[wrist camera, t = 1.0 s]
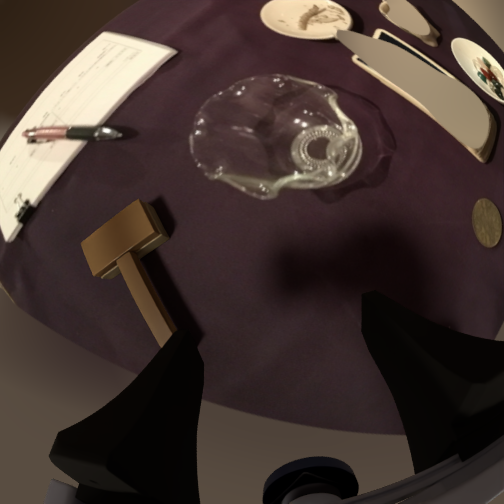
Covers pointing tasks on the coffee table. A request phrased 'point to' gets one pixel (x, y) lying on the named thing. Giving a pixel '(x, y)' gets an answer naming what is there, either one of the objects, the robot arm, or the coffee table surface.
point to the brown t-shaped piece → (132, 259)
